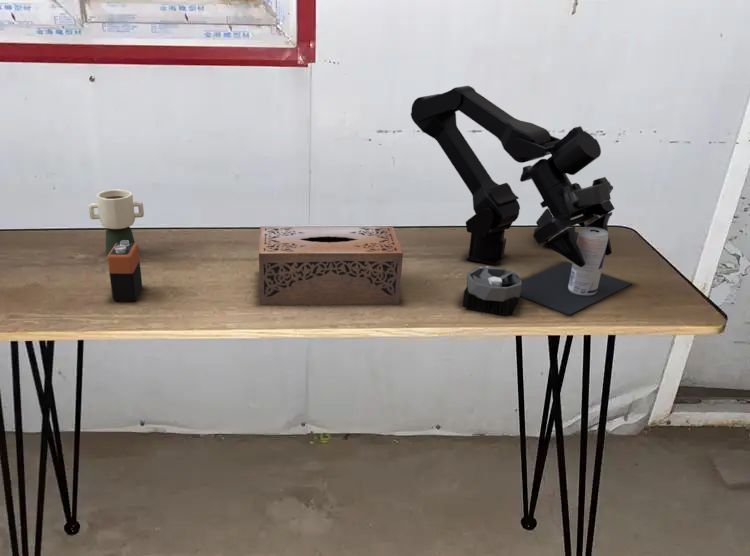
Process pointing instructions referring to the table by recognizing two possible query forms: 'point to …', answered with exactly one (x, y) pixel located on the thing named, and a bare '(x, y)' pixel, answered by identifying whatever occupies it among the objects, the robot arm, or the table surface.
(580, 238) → the energy drink
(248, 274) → the table surface
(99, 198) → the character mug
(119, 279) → the battery
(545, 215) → the handheld gaming console
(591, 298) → the mouse pad
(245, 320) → the table surface
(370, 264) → the tissue box cover
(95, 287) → the table surface
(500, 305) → the cpu cooler
